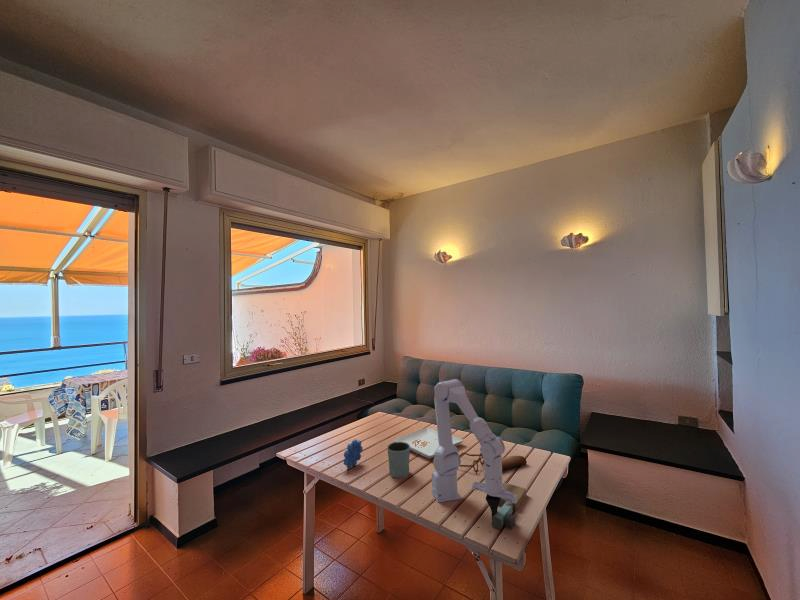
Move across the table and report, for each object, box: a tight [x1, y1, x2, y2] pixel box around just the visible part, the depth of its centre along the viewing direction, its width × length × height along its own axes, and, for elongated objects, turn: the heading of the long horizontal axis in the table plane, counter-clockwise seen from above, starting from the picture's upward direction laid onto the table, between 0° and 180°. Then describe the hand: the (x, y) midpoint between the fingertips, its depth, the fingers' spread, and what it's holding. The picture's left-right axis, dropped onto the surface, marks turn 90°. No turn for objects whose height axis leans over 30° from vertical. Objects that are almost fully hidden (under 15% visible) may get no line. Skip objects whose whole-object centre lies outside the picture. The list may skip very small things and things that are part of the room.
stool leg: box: [491, 501, 514, 530], centre depth 108 cm, size 12×3×3 cm, turn 140°
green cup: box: [386, 441, 411, 479], centre depth 141 cm, size 10×10×12 cm
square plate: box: [393, 427, 465, 459], centre depth 170 cm, size 27×27×4 cm
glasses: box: [459, 452, 484, 473], centre depth 148 cm, size 13×13×5 cm
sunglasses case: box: [502, 455, 527, 472], centre depth 145 cm, size 18×7×7 cm, turn 116°
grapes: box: [343, 438, 363, 469], centre depth 149 cm, size 12×7×12 cm, turn 143°
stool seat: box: [498, 482, 527, 531], centre depth 114 cm, size 10×23×3 cm, turn 143°
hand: (494, 517), depth 106 cm, fingers closed, pressing on stool leg
